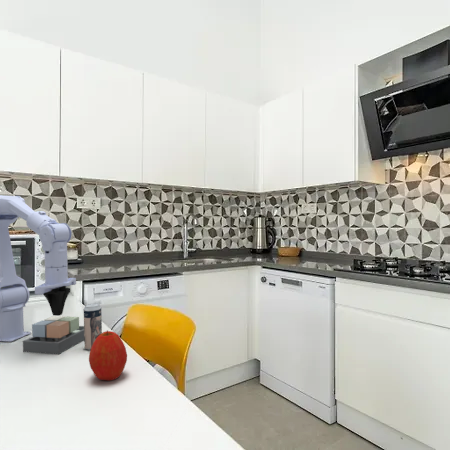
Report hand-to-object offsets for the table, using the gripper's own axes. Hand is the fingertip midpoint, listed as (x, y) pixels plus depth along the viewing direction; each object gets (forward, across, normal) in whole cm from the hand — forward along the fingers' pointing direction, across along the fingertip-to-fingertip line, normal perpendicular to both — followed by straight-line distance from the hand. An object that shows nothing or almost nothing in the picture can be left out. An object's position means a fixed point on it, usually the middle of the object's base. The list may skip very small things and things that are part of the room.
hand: (57, 314), depth 98 cm
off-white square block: (+6, +5, +5) cm, 9 cm away
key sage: (+6, +5, 0) cm, 8 cm away
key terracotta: (+6, 0, 0) cm, 6 cm away
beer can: (+10, +2, -10) cm, 14 cm away
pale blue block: (+6, 0, +5) cm, 7 cm away
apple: (+10, -14, -24) cm, 29 cm away
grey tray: (+9, +3, +2) cm, 10 cm away
